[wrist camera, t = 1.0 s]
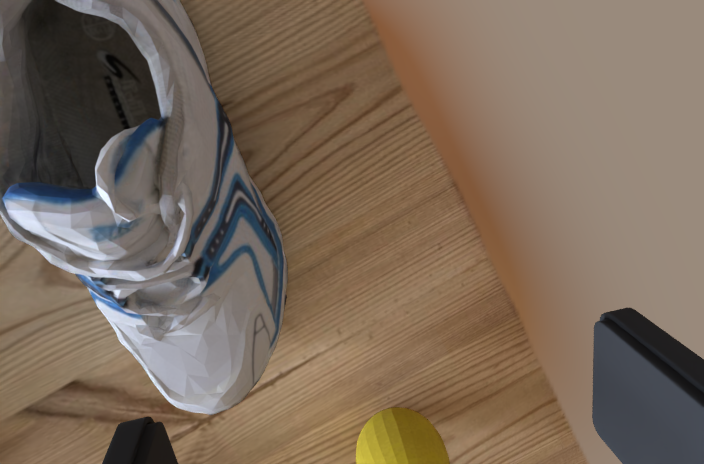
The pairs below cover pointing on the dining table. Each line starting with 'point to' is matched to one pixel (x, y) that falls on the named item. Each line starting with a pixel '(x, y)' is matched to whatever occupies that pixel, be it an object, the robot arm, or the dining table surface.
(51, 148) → the athletic shoe
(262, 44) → the dining table surface
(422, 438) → the lemon
